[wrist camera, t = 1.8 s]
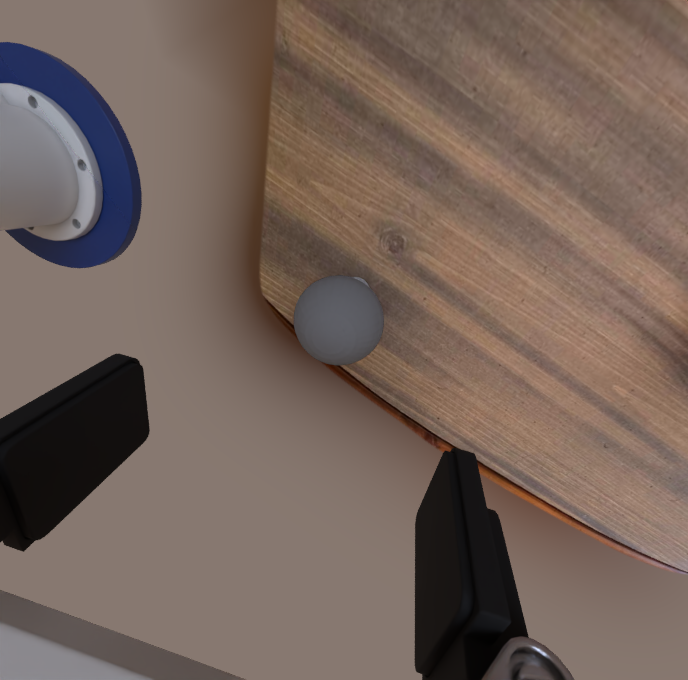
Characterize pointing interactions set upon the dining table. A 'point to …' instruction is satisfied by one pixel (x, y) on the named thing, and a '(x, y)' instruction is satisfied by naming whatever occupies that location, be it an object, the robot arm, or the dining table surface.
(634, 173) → the dining table surface
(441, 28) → the dining table surface
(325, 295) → the light bulb
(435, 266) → the dining table surface
